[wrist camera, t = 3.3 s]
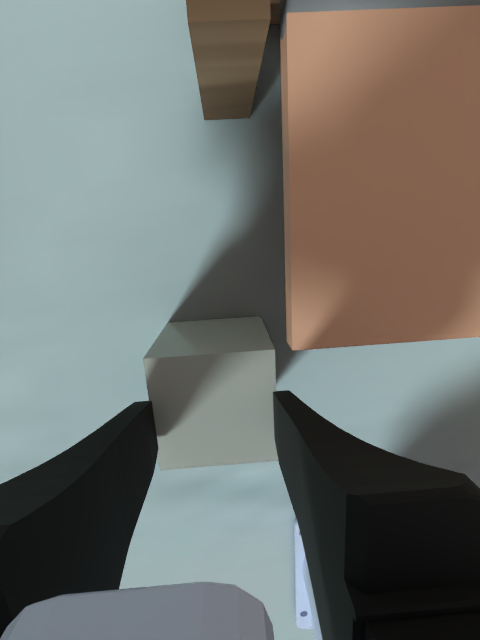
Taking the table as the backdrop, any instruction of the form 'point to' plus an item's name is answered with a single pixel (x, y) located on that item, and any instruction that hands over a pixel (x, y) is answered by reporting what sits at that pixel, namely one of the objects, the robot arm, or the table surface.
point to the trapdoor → (380, 170)
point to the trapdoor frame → (229, 52)
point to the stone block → (212, 392)
